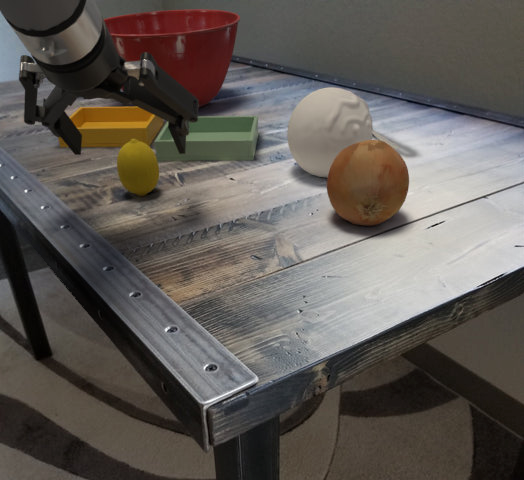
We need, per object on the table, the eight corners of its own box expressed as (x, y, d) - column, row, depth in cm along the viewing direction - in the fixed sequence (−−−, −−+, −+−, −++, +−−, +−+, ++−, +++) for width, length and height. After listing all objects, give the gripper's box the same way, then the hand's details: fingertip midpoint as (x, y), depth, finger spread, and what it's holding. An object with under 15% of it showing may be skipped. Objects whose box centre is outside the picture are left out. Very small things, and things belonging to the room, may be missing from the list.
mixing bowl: (122, 134, 104) (106, 37, 95) (92, 98, 125) (76, 16, 116) (265, 112, 113) (263, 22, 104) (214, 82, 134) (209, 4, 125)
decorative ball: (335, 197, 79) (340, 105, 72) (270, 177, 86) (269, 90, 78) (385, 172, 86) (393, 86, 79) (321, 155, 92) (324, 74, 85)
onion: (390, 203, 77) (399, 125, 71) (415, 236, 69) (427, 152, 63) (318, 208, 76) (321, 130, 70) (335, 242, 68) (339, 158, 62)
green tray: (157, 163, 92) (154, 141, 89) (172, 137, 102) (169, 116, 100) (253, 162, 91) (252, 140, 89) (258, 136, 101) (257, 115, 99)
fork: (401, 159, 90) (402, 148, 89) (330, 119, 108) (331, 109, 107) (419, 156, 91) (420, 145, 90) (345, 117, 109) (346, 107, 108)
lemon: (170, 197, 81) (162, 138, 76) (136, 208, 78) (126, 148, 73) (148, 186, 84) (140, 129, 79) (115, 197, 81) (104, 139, 76)
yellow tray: (60, 150, 98) (55, 128, 96) (84, 126, 109) (80, 107, 107) (149, 149, 97) (146, 127, 95) (164, 125, 108) (161, 106, 106)
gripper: (-70, 72, 54) (33, 172, 75) (197, 67, 52) (226, 171, 73) (-62, -2, 55) (37, 118, 76) (200, -9, 53) (227, 115, 74)
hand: (130, 144), depth 74 cm, fingers open, 13 cm apart
